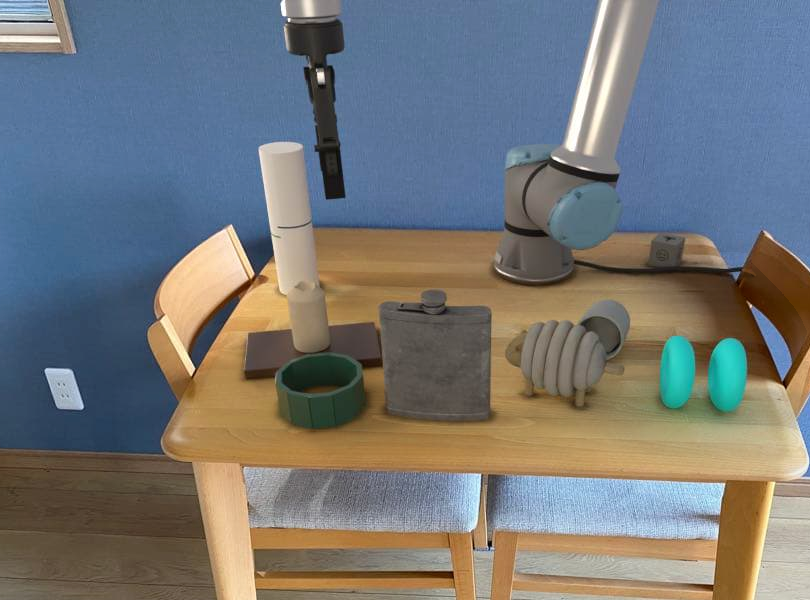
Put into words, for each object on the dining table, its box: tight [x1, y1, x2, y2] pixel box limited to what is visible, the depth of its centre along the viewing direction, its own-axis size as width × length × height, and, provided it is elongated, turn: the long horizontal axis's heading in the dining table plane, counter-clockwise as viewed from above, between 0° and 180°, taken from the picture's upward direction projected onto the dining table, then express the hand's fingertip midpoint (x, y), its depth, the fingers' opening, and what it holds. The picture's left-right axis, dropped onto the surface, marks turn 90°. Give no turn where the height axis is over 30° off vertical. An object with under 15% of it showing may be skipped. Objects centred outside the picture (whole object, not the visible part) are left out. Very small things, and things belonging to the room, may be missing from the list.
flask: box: [378, 288, 493, 422], centre depth 98 cm, size 4×14×18 cm, turn 84°
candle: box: [286, 281, 330, 353], centre depth 114 cm, size 6×6×10 cm
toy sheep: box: [504, 319, 625, 408], centre depth 104 cm, size 11×17×11 cm, turn 72°
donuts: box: [659, 335, 748, 413], centre depth 103 cm, size 10×10×10 cm
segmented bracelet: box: [274, 352, 367, 430], centre depth 104 cm, size 12×12×5 cm
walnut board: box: [243, 321, 383, 380], centre depth 117 cm, size 20×12×2 cm, turn 101°
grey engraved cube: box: [647, 232, 686, 268], centre depth 146 cm, size 5×5×5 cm
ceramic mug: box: [573, 299, 631, 361], centre depth 117 cm, size 11×8×8 cm
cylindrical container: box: [258, 141, 321, 296], centre depth 130 cm, size 7×7×25 cm
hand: (332, 183), depth 109 cm, fingers open, 13 cm apart
